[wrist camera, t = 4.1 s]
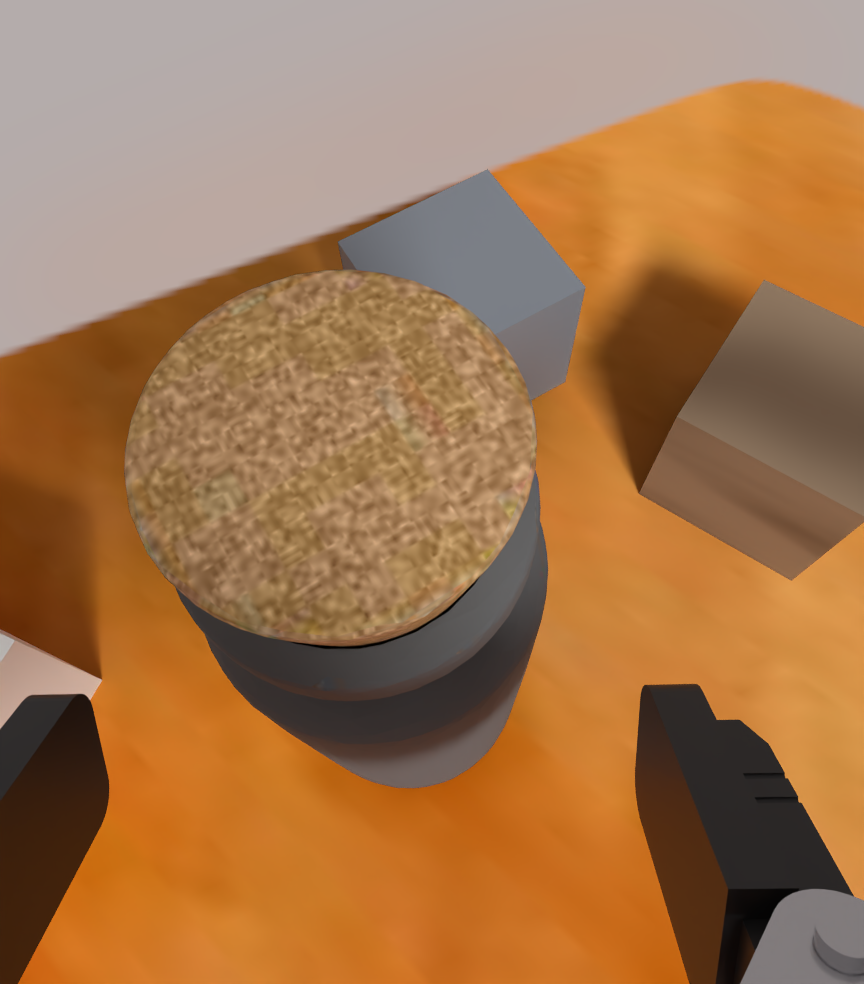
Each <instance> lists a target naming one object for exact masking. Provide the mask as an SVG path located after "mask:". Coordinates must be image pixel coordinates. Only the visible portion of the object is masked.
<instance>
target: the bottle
mask: <svg viewBox="0 0 864 984" xmlns="http://www.w3.org/2000/svg"><path fill="white" fill-rule="evenodd" d="M536 450H537V434H536V422H535V416H534V411H533V407H532V402H531V398H530V395H529V392H528V389H527V386H526V383H525V381H524V379H523V377H522V375H521V373H520V371H519V369H518V367H517V365H516V363H515V361H514V359H513V357H512V356H511V354H510V353H509V351H508V350H507V348H506V347H505V346H504V345H503V344H502V342H501V341H500V340H499V339H498V338H497V336H496V335H495V334H494V333H493V332H492V331H491V329H490V328H489V327H488V326H487V325H486V324H485V323H483V322H482V321H481V320H480V319H479V318H478V317H477V316H476V315H475V314H474V313H473V312H471V311H470V310H468V309H467V308H465V307H464V306H462V305H461V304H459V303H458V302H456V301H455V300H453V299H452V298H451V297H449V296H448V295H446V294H443V293H441V292H439V291H436V290H434V289H432V288H429V287H427V286H425V285H422V284H420V283H418V282H415V281H412V280H408V279H404V278H401V277H397V276H393V275H389V274H385V273H378V272H369V271H360V270H351V269H350V270H324V271H318V272H311V273H304V274H297V275H292V276H289V277H286V278H283V279H279V280H276V281H273V282H270V283H267V284H264V285H262V286H259V287H256V288H253V289H250V290H248V291H246V292H244V293H242V294H240V295H238V296H236V297H234V298H232V299H230V300H228V301H227V302H225V303H224V304H222V305H221V306H219V307H218V308H216V309H215V310H213V311H211V312H210V313H208V314H207V315H205V316H204V317H203V318H202V319H201V320H199V321H198V322H197V323H196V324H194V325H193V326H192V327H191V328H189V329H188V330H187V331H186V332H185V333H184V335H183V336H182V337H181V338H180V339H179V340H178V341H177V342H176V343H175V344H174V345H173V346H172V347H171V349H170V350H169V351H168V352H167V354H166V355H165V356H164V358H163V359H162V360H161V361H160V363H159V364H158V366H157V367H156V369H155V370H154V372H153V373H152V375H151V376H150V378H149V380H148V381H147V383H146V385H145V386H144V389H143V391H142V394H141V396H140V399H139V401H138V404H137V406H136V409H135V411H134V414H133V417H132V419H131V424H130V429H129V433H128V438H127V443H126V448H125V471H124V474H125V482H126V490H127V497H128V504H129V510H130V513H131V516H132V518H133V521H134V523H135V526H136V528H137V531H138V533H139V536H140V538H141V540H142V542H143V545H144V547H145V549H146V551H147V553H148V555H149V556H150V557H151V559H152V560H153V561H154V563H155V564H156V566H157V567H158V568H159V570H160V571H161V572H162V574H163V575H164V577H165V578H166V579H167V580H168V581H170V582H171V583H172V584H173V585H174V586H175V587H176V590H177V592H178V594H179V597H180V599H181V601H182V603H183V604H184V606H185V607H186V609H187V610H188V612H189V614H190V615H191V617H192V618H193V620H194V621H195V623H196V624H197V625H198V626H199V628H200V629H201V630H202V631H203V632H204V634H205V636H206V638H207V641H208V643H209V646H210V648H211V651H212V653H213V654H214V656H215V658H216V659H217V661H218V663H219V665H220V666H221V668H222V670H223V672H224V673H225V674H226V676H227V677H228V679H229V680H230V681H231V683H232V684H233V686H234V687H235V688H236V689H237V690H238V691H239V692H240V693H241V694H242V695H243V696H244V697H245V698H246V700H247V701H248V702H249V703H250V704H251V705H252V706H253V707H255V708H256V709H257V710H259V711H260V712H261V713H263V714H264V715H266V716H267V717H268V718H270V719H271V720H272V721H274V722H275V723H276V724H278V725H279V726H280V727H282V728H283V729H285V730H286V731H287V732H289V733H290V734H292V735H293V736H295V737H296V738H298V739H300V740H301V741H303V742H304V743H306V744H307V745H309V746H311V747H312V748H314V749H315V750H317V751H318V752H320V753H322V754H323V755H325V756H326V757H328V758H329V759H331V760H333V761H334V762H336V763H337V764H339V765H341V766H342V767H344V768H346V769H347V770H349V771H351V772H352V773H354V774H356V775H358V776H360V777H362V778H365V779H367V780H369V781H372V782H375V783H378V784H383V785H387V786H392V787H396V788H419V787H427V786H431V785H435V784H439V783H442V782H445V781H447V780H450V779H452V778H454V777H456V776H458V775H459V774H461V773H463V772H464V771H466V770H467V769H469V768H470V767H472V766H473V765H474V764H475V763H477V762H478V761H479V760H480V759H481V758H482V757H483V756H484V755H485V754H486V753H487V752H488V751H489V749H490V748H491V747H492V746H493V745H494V743H495V741H496V740H497V738H498V736H499V735H500V733H501V732H502V730H503V728H504V726H505V724H506V721H507V719H508V717H509V715H510V712H511V709H512V706H513V704H514V701H515V698H516V695H517V693H518V690H519V687H520V684H521V682H522V679H523V676H524V674H525V671H526V668H527V665H528V661H529V658H530V655H531V652H532V649H533V645H534V642H535V639H536V636H537V632H538V629H539V626H540V623H541V619H542V614H543V609H544V604H545V599H546V591H547V577H548V562H547V551H546V545H545V539H544V535H543V530H542V526H541V523H540V496H539V483H538V478H537V474H536V471H535V466H536Z"/></svg>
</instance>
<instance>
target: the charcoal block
mask: <svg viewBox="0 0 864 984" xmlns="http://www.w3.org/2000/svg"><path fill="white" fill-rule="evenodd" d="M338 246H339V251H340V255H341V260H342V265H343V270H350V269H351V270H360V271H369V272H378V273H385V274H389V275H393V276H397V277H401V278H404V279H408V280H412V281H415V282H418V283H420V284H422V285H425V286H427V287H429V288H432V289H434V290H436V291H439V292H441V293H443V294H446V295H448V296H449V297H451V298H452V299H453V300H455V301H456V302H458V303H459V304H461V305H462V306H464V307H465V308H467V309H468V310H470V311H471V312H473V313H474V314H475V315H476V316H477V317H478V318H479V319H480V320H481V321H482V322H483V323H485V324H486V325H487V326H488V327H489V328H490V329H491V331H492V332H493V333H494V334H495V335H496V336H497V338H498V339H499V340H500V341H501V342H502V344H503V345H504V346H505V347H506V348H507V350H508V351H509V353H510V354H511V356H512V357H513V359H514V361H515V363H516V365H517V367H518V369H519V371H520V373H521V375H522V377H523V379H524V381H525V383H526V386H527V389H528V392H529V395H530V398H531V400H533V399H535V398H536V397H538V396H540V395H542V394H544V393H546V392H547V391H549V390H551V389H553V388H555V387H557V386H558V385H560V384H562V383H564V382H565V380H566V375H567V371H568V366H569V361H570V357H571V352H572V347H573V343H574V338H575V333H576V329H577V324H578V319H579V315H580V310H581V305H582V301H583V296H584V291H585V286H584V285H583V284H582V282H581V281H580V280H579V279H578V278H577V276H576V275H575V274H574V273H573V272H572V270H571V269H570V268H569V267H568V266H567V264H566V263H565V262H564V261H563V260H562V258H561V257H560V256H559V255H558V254H557V252H556V251H555V250H554V249H553V248H552V246H551V245H550V244H549V243H548V241H547V240H546V239H545V238H544V237H543V235H542V234H541V233H540V232H539V231H538V229H537V228H536V227H535V226H534V225H533V223H532V222H531V221H530V220H529V219H528V217H527V216H526V215H525V214H524V213H523V211H522V210H521V209H520V208H519V207H518V205H517V204H516V203H515V202H514V201H513V199H512V198H511V197H510V196H509V195H508V193H507V192H506V191H505V190H504V189H503V187H502V186H501V185H500V184H499V183H498V181H497V180H496V179H495V178H494V176H493V175H492V174H491V173H490V172H489V170H488V169H487V170H485V171H483V172H481V173H479V174H477V175H475V176H473V177H471V178H469V179H467V180H464V181H462V182H460V183H458V184H456V185H454V186H452V187H450V188H448V189H446V190H444V191H442V192H440V193H438V194H436V195H433V196H431V197H429V198H427V199H425V200H423V201H421V202H419V203H417V204H415V205H413V206H411V207H409V208H407V209H404V210H402V211H400V212H398V213H396V214H394V215H392V216H390V217H388V218H386V219H384V220H382V221H380V222H378V223H375V224H373V225H371V226H369V227H367V228H365V229H363V230H361V231H359V232H357V233H355V234H353V235H351V236H349V237H346V238H344V239H342V240H340V241H338Z"/></svg>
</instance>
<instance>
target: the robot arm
mask: <svg viewBox="0 0 864 984" xmlns="http://www.w3.org/2000/svg"><path fill="white" fill-rule="evenodd" d="M635 787H636V798H637V805H638V811H639V815H640V819H641V823H642V826H643V829H644V833H645V836H646V839H647V843H648V846H649V850H650V853H651V856H652V860H653V863H654V866H655V870H656V873H657V876H658V880H659V883H660V886H661V890H662V893H663V896H664V900H665V903H666V906H667V910H668V913H669V917H670V920H671V923H672V927H673V930H674V933H675V937H676V940H677V943H678V947H679V950H680V953H681V957H682V960H683V963H684V967H685V970H686V973H687V977H688V980H689V983H690V984H864V901H863V900H861V899H859V898H856V897H854V895H853V894H852V892H851V890H850V889H849V887H848V885H847V883H846V881H845V880H844V878H843V876H842V874H841V872H840V871H839V869H838V867H837V865H836V864H835V862H834V860H833V858H832V856H831V855H830V853H829V851H828V849H827V848H826V846H825V844H824V842H823V840H822V839H821V837H820V835H819V833H818V831H817V830H816V828H815V826H814V824H813V823H812V821H811V819H810V817H809V815H808V814H807V812H806V810H805V808H804V807H803V805H802V803H799V802H798V796H797V794H796V792H795V790H794V789H793V787H792V785H791V783H790V782H789V780H788V779H785V773H784V771H783V769H782V767H781V765H780V764H779V762H778V760H777V758H776V757H775V755H774V753H773V751H772V749H771V748H770V746H769V744H768V743H767V742H765V741H764V740H763V739H762V738H761V737H759V736H758V735H757V734H756V733H755V732H754V731H752V730H751V729H750V728H749V727H748V726H746V725H745V724H744V723H743V722H742V721H740V720H716V718H715V716H714V714H713V712H712V710H711V708H710V705H709V703H708V701H707V699H706V697H705V695H704V693H703V691H702V689H701V688H700V686H699V685H697V684H673V685H644V686H643V688H642V692H641V699H640V712H639V726H638V739H637V753H636V767H635ZM108 799H109V779H108V774H107V770H106V765H105V761H104V756H103V752H102V747H101V743H100V738H99V734H98V729H97V725H96V721H95V716H94V712H93V708H92V704H91V702H90V700H89V698H88V697H87V696H86V695H84V694H47V695H30V696H28V697H26V698H25V699H24V700H23V701H22V702H21V704H20V705H19V706H18V707H17V709H16V710H15V711H14V712H13V714H12V715H11V716H10V717H9V719H8V720H7V721H6V722H5V724H4V725H3V726H2V727H1V729H0V984H18V982H19V980H20V978H21V977H22V975H23V973H24V971H25V969H26V967H27V965H28V963H29V961H30V960H31V958H32V956H33V954H34V952H35V950H36V948H37V946H38V944H39V942H40V941H41V939H42V937H43V935H44V933H45V931H46V929H47V927H48V925H49V923H50V922H51V920H52V918H53V916H54V914H55V912H56V910H57V908H58V906H59V904H60V903H61V901H62V899H63V897H64V895H65V893H66V891H67V889H68V887H69V886H70V884H71V882H72V880H73V878H74V876H75V874H76V872H77V870H78V868H79V867H80V865H81V863H82V861H83V859H84V857H85V855H86V853H87V851H88V849H89V848H90V846H91V844H92V842H93V840H94V838H95V836H96V834H97V832H98V830H99V829H100V827H101V825H102V822H103V820H104V817H105V814H106V810H107V805H108Z"/></svg>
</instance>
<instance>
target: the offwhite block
mask: <svg viewBox="0 0 864 984" xmlns="http://www.w3.org/2000/svg"><path fill="white" fill-rule="evenodd" d="M101 681H102V680H101V679H99V678H97V677H95V676H93V675H91V674H89V673H87V672H85V671H83V670H81V669H79V668H77V667H75V666H73V665H71V664H69V663H67V662H65V661H63V660H61V659H59V658H57V657H55V656H53V655H51V654H49V653H47V652H45V651H43V650H41V649H39V648H37V647H35V646H33V645H31V644H29V643H27V642H25V641H23V640H21V639H19V638H17V637H15V636H13V635H11V634H9V633H7V632H5V631H3V630H1V629H0V729H1V727H2V726H3V725H4V724H5V722H6V721H7V720H8V719H9V717H10V716H11V715H12V714H13V712H14V711H15V710H16V709H17V707H18V706H19V705H20V704H21V702H22V701H23V700H24V699H25V698H26V697H28V696H30V695H47V694H84V695H86V696H87V697H88V698H89V700H90V699H91V698H92V696H93V695H94V693H95V691H96V690H97V688H98V686H99V685H100V683H101Z"/></svg>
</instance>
